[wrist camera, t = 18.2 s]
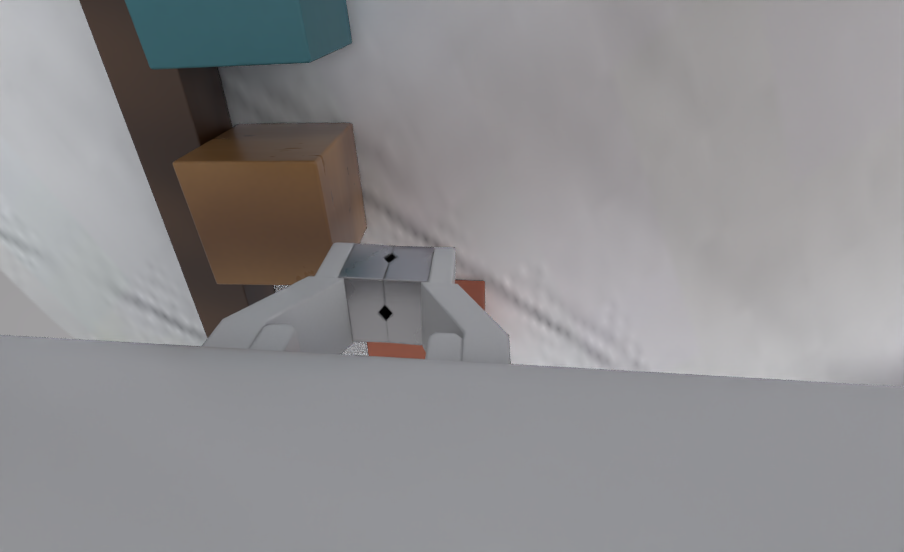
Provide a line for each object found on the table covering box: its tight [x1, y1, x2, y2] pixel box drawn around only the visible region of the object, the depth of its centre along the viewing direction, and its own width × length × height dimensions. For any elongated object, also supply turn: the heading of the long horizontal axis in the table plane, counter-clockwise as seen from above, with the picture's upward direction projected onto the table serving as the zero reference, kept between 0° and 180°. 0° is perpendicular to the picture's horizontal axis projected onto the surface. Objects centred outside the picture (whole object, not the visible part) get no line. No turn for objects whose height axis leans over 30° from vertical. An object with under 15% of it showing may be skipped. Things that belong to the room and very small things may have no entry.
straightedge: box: [79, 0, 275, 338], centre depth 17 cm, size 24×2×2 cm, turn 0°
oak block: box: [173, 123, 367, 285], centre depth 17 cm, size 4×4×4 cm
